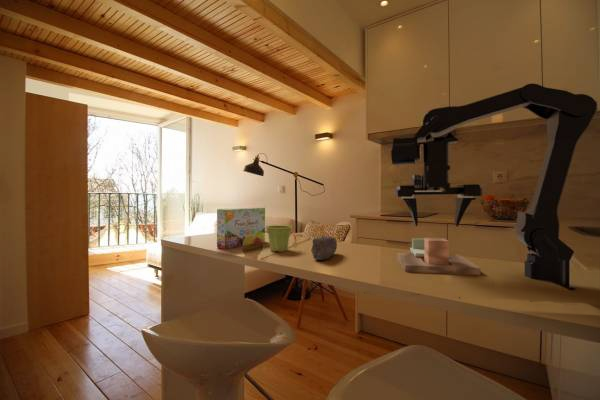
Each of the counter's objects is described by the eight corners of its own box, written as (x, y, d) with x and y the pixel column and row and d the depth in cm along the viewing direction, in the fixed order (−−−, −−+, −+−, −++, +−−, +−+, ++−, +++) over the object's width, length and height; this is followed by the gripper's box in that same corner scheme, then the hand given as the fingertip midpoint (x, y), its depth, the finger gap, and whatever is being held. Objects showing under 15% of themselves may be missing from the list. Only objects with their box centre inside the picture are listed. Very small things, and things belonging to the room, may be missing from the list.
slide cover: (440, 251, 81) (439, 239, 81) (448, 257, 73) (448, 243, 73) (410, 250, 82) (410, 238, 82) (415, 256, 75) (415, 243, 75)
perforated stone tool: (328, 252, 97) (328, 232, 97) (342, 254, 95) (342, 233, 95) (307, 261, 85) (306, 238, 84) (322, 263, 82) (322, 239, 82)
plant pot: (282, 246, 109) (281, 224, 109) (297, 250, 102) (297, 226, 101) (261, 250, 103) (260, 226, 103) (276, 254, 96) (275, 228, 95)
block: (443, 265, 72) (443, 238, 72) (448, 270, 67) (448, 241, 67) (424, 265, 73) (424, 237, 72) (428, 269, 68) (428, 240, 68)
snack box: (225, 249, 105) (225, 209, 104) (216, 248, 108) (215, 208, 108) (266, 241, 121) (265, 206, 121) (256, 240, 125) (256, 206, 125)
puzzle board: (458, 265, 77) (458, 254, 77) (480, 281, 63) (480, 268, 63) (397, 263, 80) (397, 253, 80) (405, 277, 67) (405, 265, 67)
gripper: (465, 164, 75) (465, 223, 76) (392, 167, 79) (392, 222, 80) (483, 159, 65) (483, 228, 65) (397, 162, 68) (398, 227, 69)
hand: (436, 226), depth 70 cm, fingers open, 9 cm apart
